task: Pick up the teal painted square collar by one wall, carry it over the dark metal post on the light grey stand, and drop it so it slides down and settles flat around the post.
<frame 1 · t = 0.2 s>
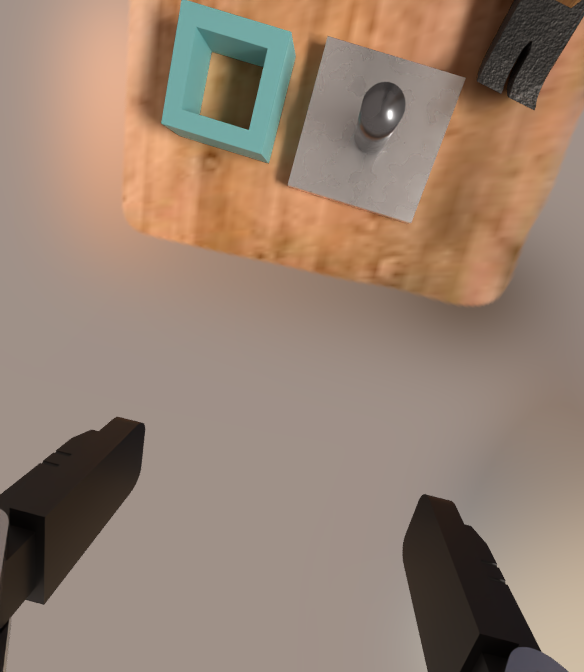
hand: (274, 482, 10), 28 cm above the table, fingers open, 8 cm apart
stand: (369, 139, 33), on the table
collar: (235, 97, 33), on the table
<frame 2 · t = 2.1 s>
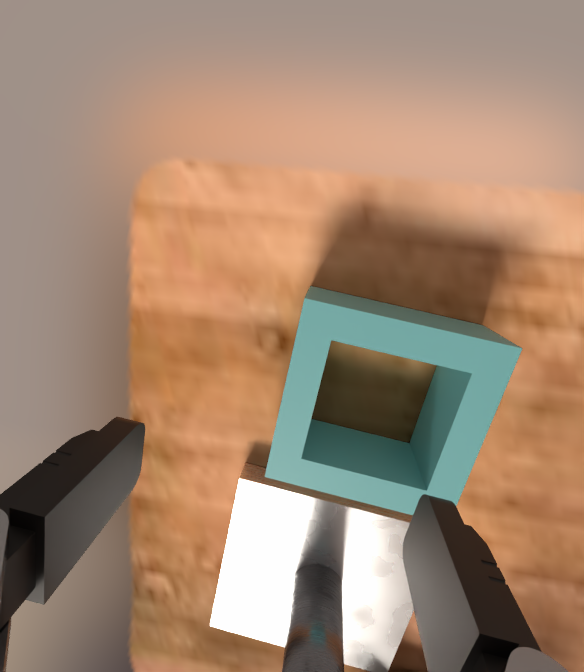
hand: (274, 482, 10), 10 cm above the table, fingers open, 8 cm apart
stand: (318, 562, 23), on the table
collar: (372, 383, 20), on the table
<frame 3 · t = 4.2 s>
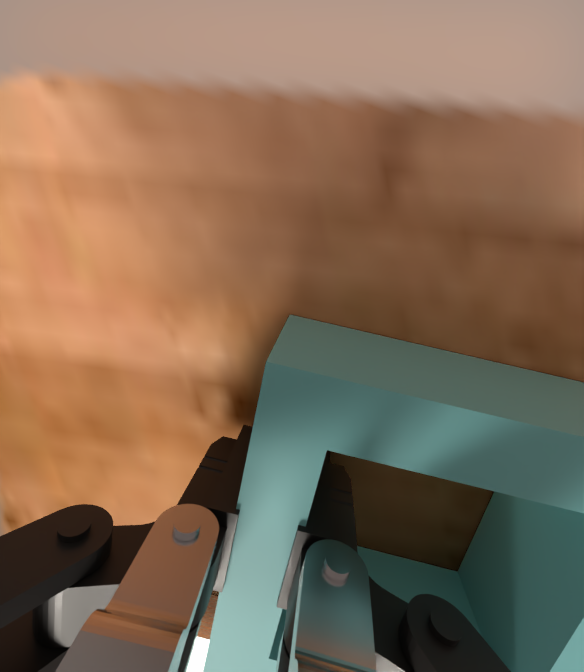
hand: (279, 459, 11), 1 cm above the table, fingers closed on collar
collar: (397, 478, 11), on the table, touching gripper
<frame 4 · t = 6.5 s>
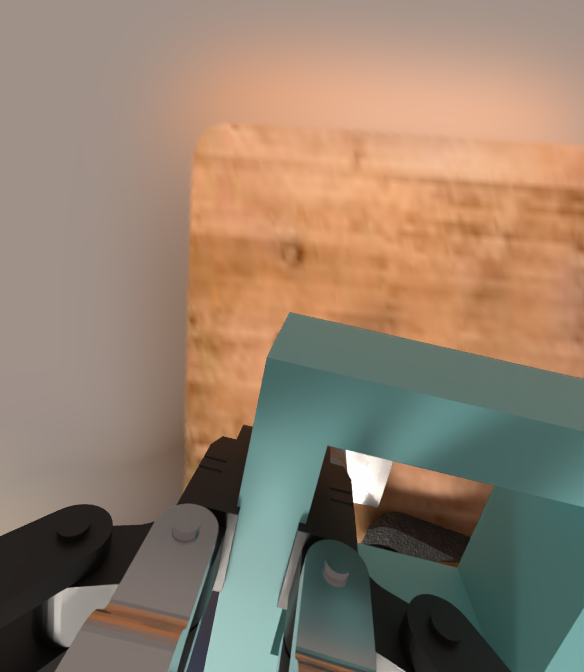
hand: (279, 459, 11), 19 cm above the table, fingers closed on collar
stand: (326, 426, 32), on the table
hammer: (454, 552, 34), on the table
collar: (396, 475, 12), point 18 cm above the table, touching gripper
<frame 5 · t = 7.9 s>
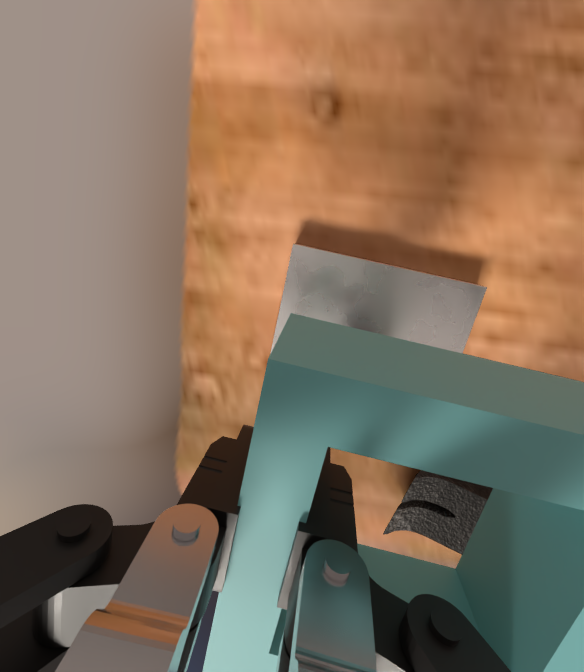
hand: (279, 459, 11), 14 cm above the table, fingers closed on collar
stand: (361, 348, 25), on the table
hammer: (515, 517, 28), on the table
collar: (396, 476, 12), point 14 cm above the table, touching gripper
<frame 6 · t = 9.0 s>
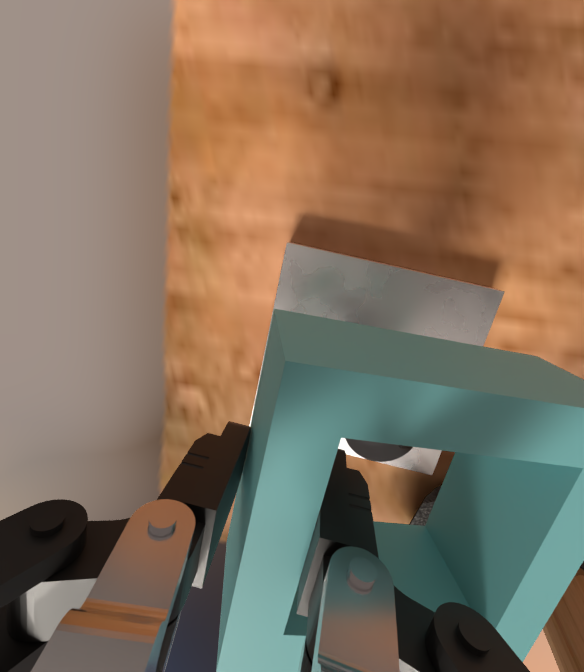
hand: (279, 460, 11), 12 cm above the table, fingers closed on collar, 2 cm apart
stand: (362, 358, 22), on the table
hammer: (529, 541, 25), on the table
collar: (374, 453, 13), point 10 cm above the table, tilted 12°, touching gripper
when the fingers open (12 cm above the table, at t = 9.0 s): collar drops 9 cm, resting on stand.
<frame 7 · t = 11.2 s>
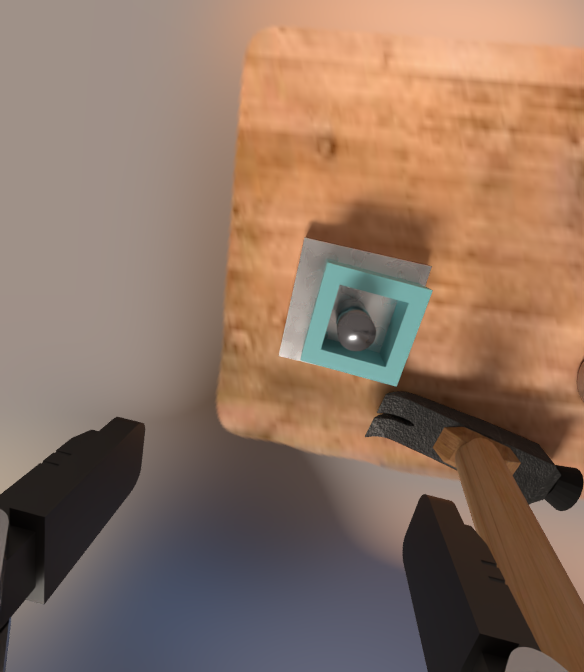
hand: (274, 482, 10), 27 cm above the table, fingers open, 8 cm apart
stand: (350, 310, 36), on the table
hammer: (458, 432, 39), on the table
collar: (359, 316, 35), point 1 cm above the table, touching stand
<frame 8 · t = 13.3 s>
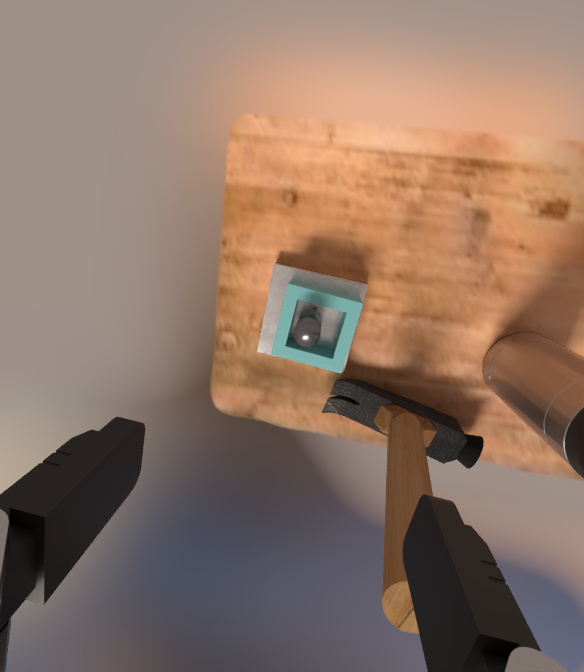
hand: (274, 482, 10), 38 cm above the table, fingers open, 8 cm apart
stand: (310, 317, 48), on the table
hammer: (397, 411, 50), on the table
collar: (316, 321, 46), point 1 cm above the table, touching stand
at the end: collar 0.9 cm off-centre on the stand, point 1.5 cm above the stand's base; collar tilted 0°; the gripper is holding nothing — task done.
